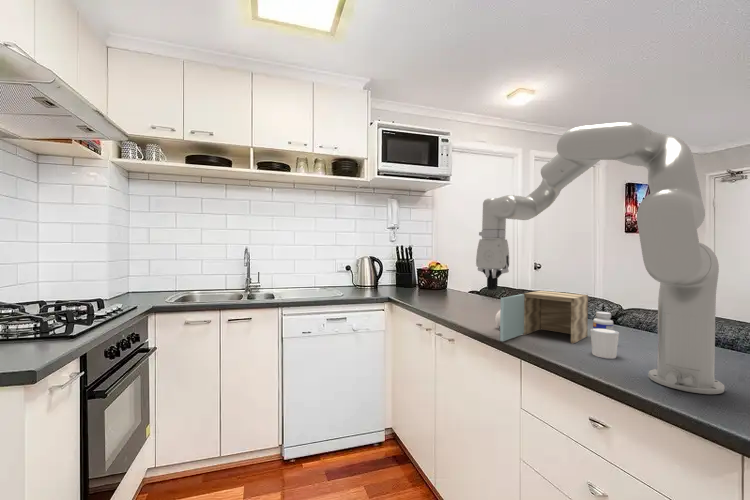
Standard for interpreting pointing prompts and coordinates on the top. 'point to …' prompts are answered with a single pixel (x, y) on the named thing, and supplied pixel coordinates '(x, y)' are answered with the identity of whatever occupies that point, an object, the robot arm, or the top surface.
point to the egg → (497, 318)
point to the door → (511, 317)
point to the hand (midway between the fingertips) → (492, 289)
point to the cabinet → (556, 313)
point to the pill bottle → (603, 321)
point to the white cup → (604, 342)
